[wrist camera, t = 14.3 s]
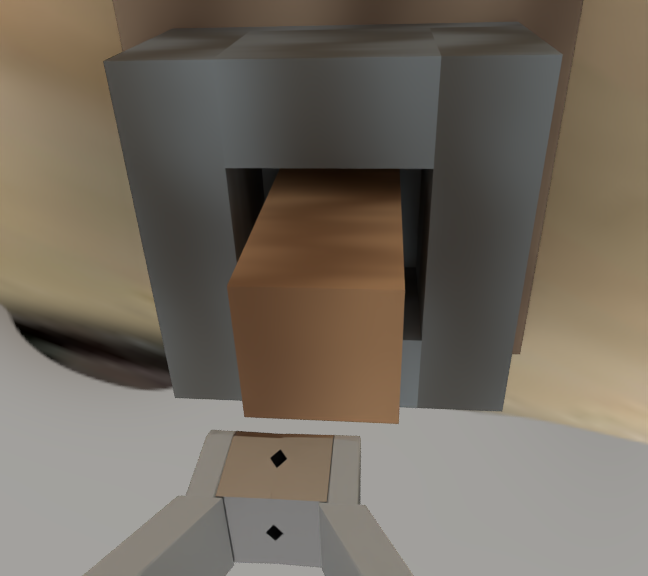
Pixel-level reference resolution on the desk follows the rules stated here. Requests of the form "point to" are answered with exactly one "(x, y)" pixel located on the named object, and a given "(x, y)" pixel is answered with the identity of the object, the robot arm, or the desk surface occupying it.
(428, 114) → the hole block
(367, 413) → the peg
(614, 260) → the desk surface
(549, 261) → the desk surface
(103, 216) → the desk surface
